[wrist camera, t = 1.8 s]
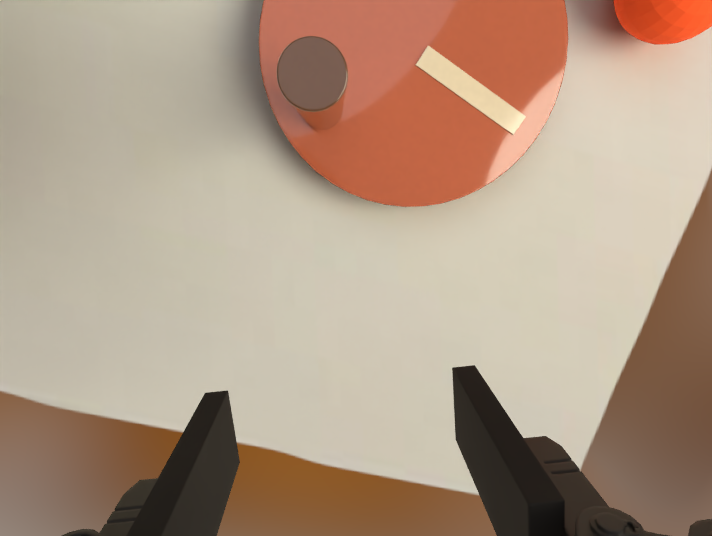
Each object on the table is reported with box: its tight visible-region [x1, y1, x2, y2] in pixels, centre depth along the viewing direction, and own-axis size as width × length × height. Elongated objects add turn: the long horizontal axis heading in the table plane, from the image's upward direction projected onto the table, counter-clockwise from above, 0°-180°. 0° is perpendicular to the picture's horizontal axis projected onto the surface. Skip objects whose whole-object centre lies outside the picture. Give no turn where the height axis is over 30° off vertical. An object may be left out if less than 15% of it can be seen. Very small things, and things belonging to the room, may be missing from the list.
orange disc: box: [259, 0, 568, 207], centre depth 25 cm, size 20×20×14 cm
